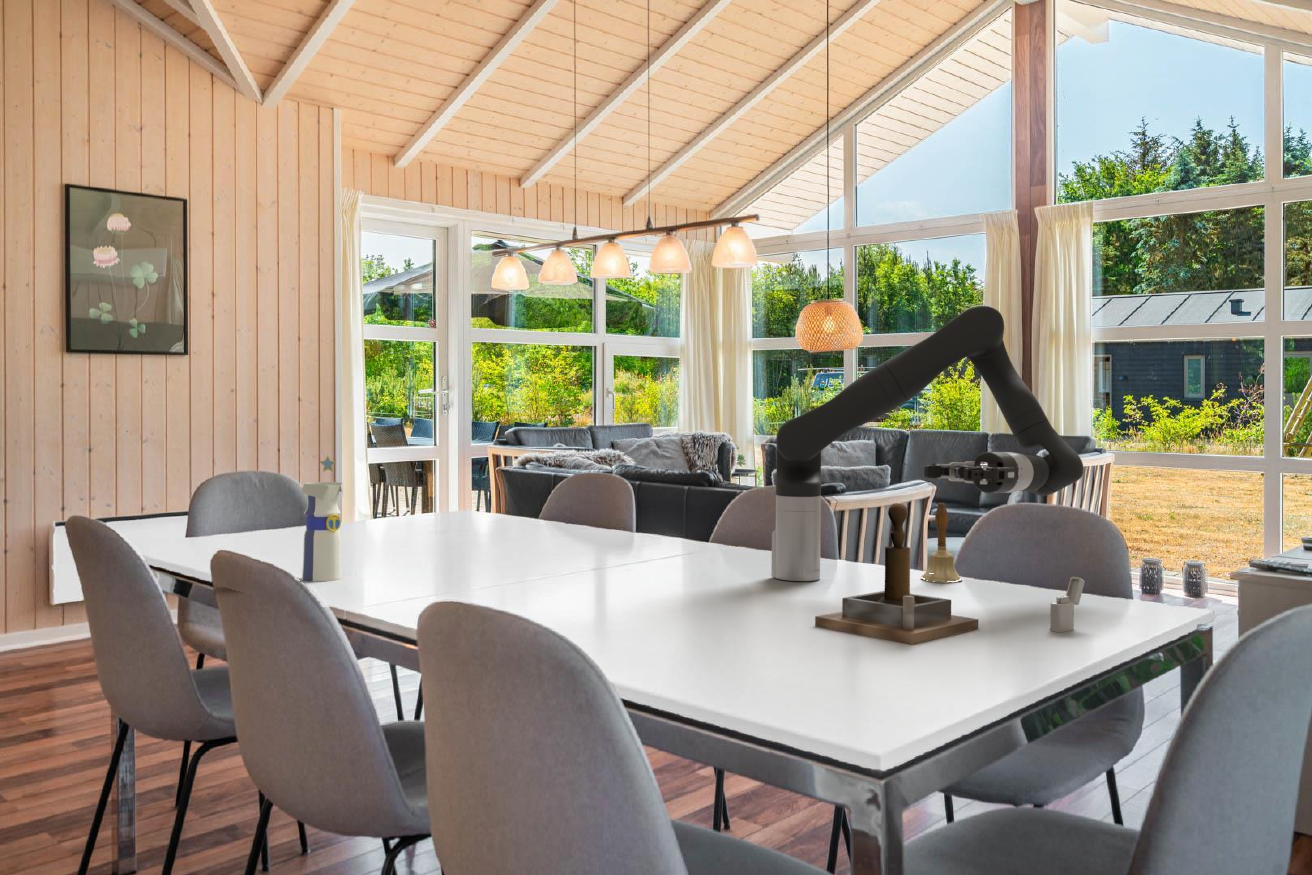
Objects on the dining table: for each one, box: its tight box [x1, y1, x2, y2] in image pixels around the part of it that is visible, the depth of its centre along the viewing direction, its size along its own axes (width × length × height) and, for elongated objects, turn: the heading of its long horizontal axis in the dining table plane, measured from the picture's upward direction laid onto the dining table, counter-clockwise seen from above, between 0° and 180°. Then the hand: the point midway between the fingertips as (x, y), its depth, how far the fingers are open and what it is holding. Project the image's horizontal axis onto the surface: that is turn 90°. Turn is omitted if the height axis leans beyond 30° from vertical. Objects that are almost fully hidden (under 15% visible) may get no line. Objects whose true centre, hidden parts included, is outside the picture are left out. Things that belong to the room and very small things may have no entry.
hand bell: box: [921, 502, 962, 582], centre depth 216 cm, size 8×8×16 cm
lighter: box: [1049, 576, 1086, 633], centre depth 164 cm, size 7×2×8 cm, turn 128°
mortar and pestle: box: [877, 503, 918, 606], centre depth 164 cm, size 7×6×18 cm
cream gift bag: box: [301, 455, 344, 582], centre depth 211 cm, size 8×9×25 cm
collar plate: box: [814, 590, 979, 645], centre depth 164 cm, size 18×18×6 cm
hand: (945, 473), depth 182 cm, fingers open, 8 cm apart
